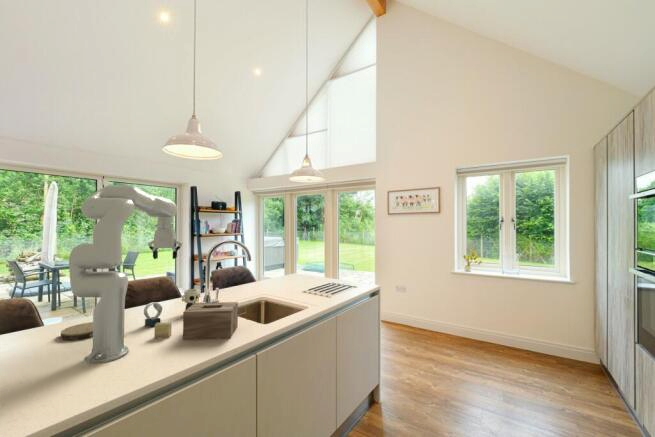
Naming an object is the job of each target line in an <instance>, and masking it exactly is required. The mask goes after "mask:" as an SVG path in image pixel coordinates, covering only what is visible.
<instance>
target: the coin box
mask: <svg viewBox="0 0 655 437" xmlns="http://www.w3.org/2000/svg"><path fill="white" fill-rule="evenodd" d="M238 306H239V302H238V301H226V302H225V301H224V302H221V301H220V302H216V301H215V302H196V303H194V304H193V305H192V306H190V307H189V308H188V309H186V310H185V309H184V311H183V314H182V319H183V320H182V333H183V334H182V340H185V341H187V340H189V341H190V340H213V339H216V338H221V339H231V338H232V337H233V335H234V334H233V333H235V332H236V330H237V328H238V326H239V325H238V323H239V322H238V321H239V320H238V319H239V318H238V317H239V314H238V312H239V307H238Z"/></svg>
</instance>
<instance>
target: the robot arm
mask: <svg viewBox="0 0 655 437" xmlns="http://www.w3.org/2000/svg"><path fill="white" fill-rule="evenodd" d="M80 210H81V213H82V215H83V216H84V217H85V218H88V219H89V220H98V222H96V224H95V226H94V227H93V230H92V243H80V244H77V245H75V246H74V247H73V248H72V249H71V251H70V253H69V256H68V270H69V271H68V272H69V284H70V289H71V293H72V294H73V296H75V297H76V298H99V301H98V302H97V303H96V305H95V306H94V308H93V311H92V322H93V337H92V348H91V351H90V353H89V354H88V355H87V356H85V357H84V358H83V361H84V362H85V363H88V362H89V363H92V364H100V363H108V362H111V361H114V360H117V359H120V358H121V357H124V356H125V355H127V354H128V353H129V349H130V348H129V346H126V345H125V304H126V295H127V290H128V285H129V278H128V276H127V275H126V273H123V272H121V271H116V270H115V271H114V270H113V271H111V270H107V271H105V270H106V269H115V268H117V267H118V266H120V265H121V264H122V260H123V252H122V251H123V248H122V230H123V227H124V225H125V223H126V222H127V221H128V219H130V217H131V216H132V215H133V213H134V210H136V211H140V212H145V214H146V215H147V216H148V217H151V218H157V224H155V225H154V227H155V228H156V229H155V230H154V235H153V240H152V241H150V242H147V246H148V247H149V249H150V250H151V251H152V257H153V260H157V259H158V256H159V251H158V249H172V260H174V259H175V260H176V259H177V257H178V251H179V250H180V249H181V247H183V242H182V241H179V240H177V234H176V230H175V228H174V221H175V219H174V217H175V216H177V214H178V206H177V204H176V203H175V202H174V201H173V200H171V199H168V198H164V197H160V196H157V195H154V194H150V193H147V192H145V191H143V190H141V189H140V188H138V187H136V186H133V185H126V184H125V185H124V184H123V185H120V184H117V185H115V184H112V185H111V184H110V185H106V186H103V187H102V188H100V189H98V190H96V191H95V192H93V193H92V194H91V195H89V196H88V197H86V198H85V199H84V200H83V202H82V204H81V209H80ZM103 269H104V271H103ZM93 270H102V271H93Z"/></svg>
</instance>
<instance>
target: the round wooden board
mask: <svg viewBox="0 0 655 437" xmlns="http://www.w3.org/2000/svg"><path fill="white" fill-rule="evenodd" d="M60 339H61V341H64V342H65V341H67V342H74V341H82V340H87V339H93V321H91V322H90V321H89V322H83V323H80V324H75V325H72V326H68V327H66V328H63V329H62V330H61V331H60Z"/></svg>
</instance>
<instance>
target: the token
mask: <svg viewBox="0 0 655 437" xmlns="http://www.w3.org/2000/svg"><path fill="white" fill-rule="evenodd" d="M172 323H173V322H171V321H170V322H169V321H167V322H160V323H156V324H155V327H154V337H153V338H154V339H170V337H172V327H173V326H172Z"/></svg>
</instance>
